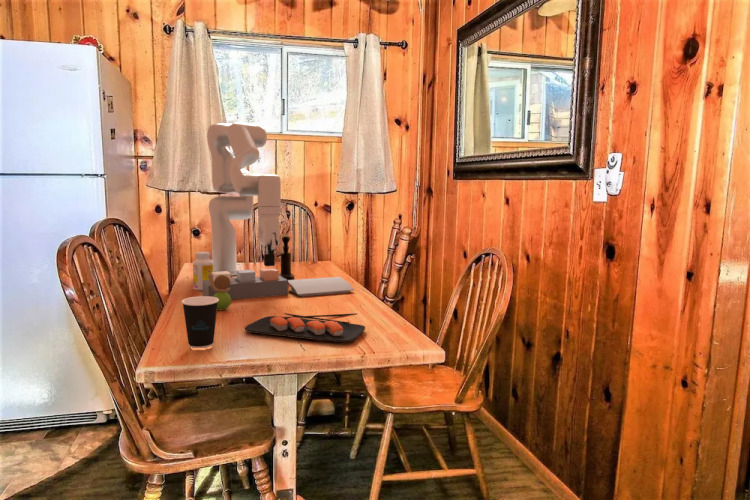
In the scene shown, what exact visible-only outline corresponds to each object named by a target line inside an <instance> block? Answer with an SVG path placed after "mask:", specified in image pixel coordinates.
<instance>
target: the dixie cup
mask: <svg viewBox="0 0 750 500" xmlns="http://www.w3.org/2000/svg"><path fill="white" fill-rule="evenodd" d="M218 301H219V299H218V298H216V297H210V296H203V295H200V296H198V295H197V296H192V297H191V296H190V297H186V298H184V299H182V300H181V304H182V307H183V313H184V321H185V322H184V323H185V330H186V336H187V344H188V346H189V348H190V347H192V348H207V347H210V346H212V347H213V344H214V342H215V333H216V332H215V330H216V322H217V321H216V320H217V311H218V309H217V302H218Z"/></svg>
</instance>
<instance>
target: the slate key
mask: <svg viewBox="0 0 750 500" xmlns="http://www.w3.org/2000/svg"><path fill="white" fill-rule="evenodd" d="M238 270H239V271H236V275H235V278H236V279H237V281H238V282H253V281H255V277H256V271H254V270H253V269H242V270H240V269H238Z"/></svg>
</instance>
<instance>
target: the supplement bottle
mask: <svg viewBox="0 0 750 500" xmlns="http://www.w3.org/2000/svg"><path fill="white" fill-rule="evenodd" d="M210 256H211V252H209V251H197V252H195V257H196V259H194V260H193V262H192V274H193V275H192V280H193V290H195V291H203V280H209V278H208V274H212V272H213V261H212V259H210ZM208 270H210V272H208Z"/></svg>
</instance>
